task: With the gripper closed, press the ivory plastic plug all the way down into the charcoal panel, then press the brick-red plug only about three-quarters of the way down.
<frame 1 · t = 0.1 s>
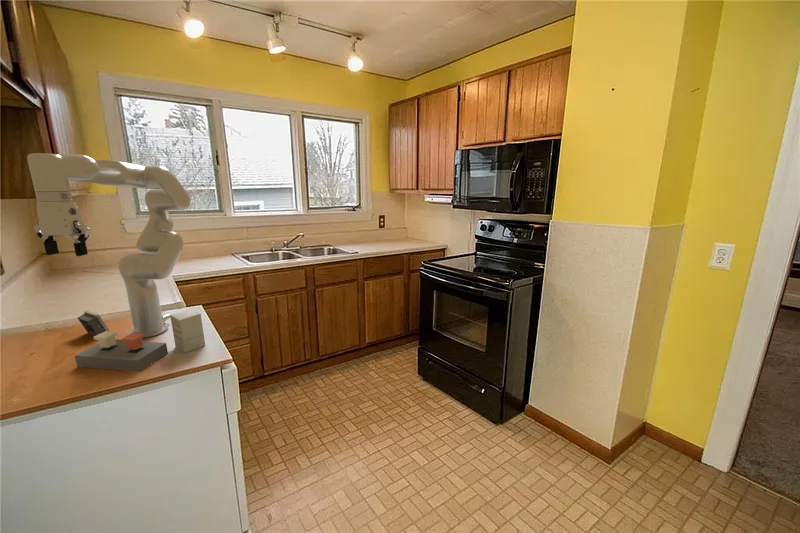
hand: (67, 254, 107), 37 cm above the counter, tool pointing down, fingers open, 9 cm apart
red plug: (134, 341, 116), point 7 cm above the counter, slide at 0.0 cm
ivory plug: (106, 339, 117), point 7 cm above the counter, slide at 0.0 cm
supplement box: (190, 346, 128), on the counter
plug panel: (124, 359, 118), on the counter
electrical switch: (97, 334, 136), on the counter
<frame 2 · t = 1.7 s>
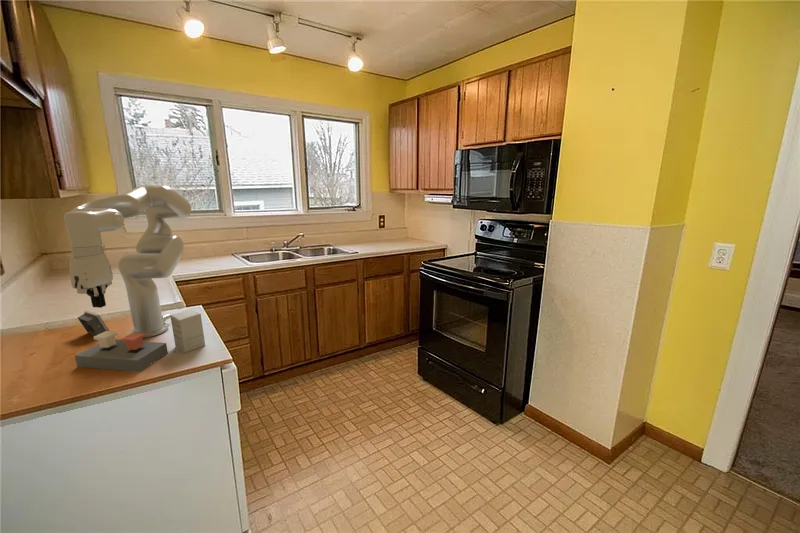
hand: (99, 306, 114), 19 cm above the counter, tool pointing down, fingers closed
nothing on the counter moved.
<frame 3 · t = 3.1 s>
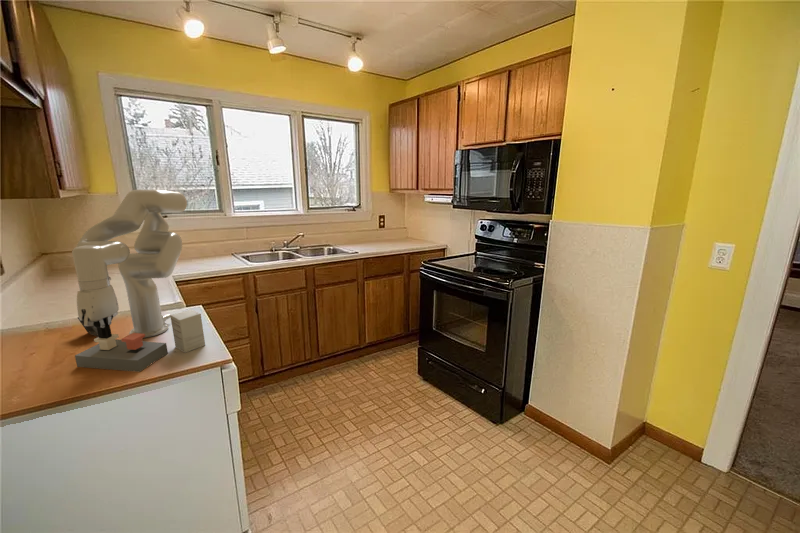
hand: (105, 337, 116), 8 cm above the counter, tool pointing down, fingers closed
ivory plug: (107, 342, 117), point 6 cm above the counter, slide at 0.9 cm, touching gripper
everything else where it was.
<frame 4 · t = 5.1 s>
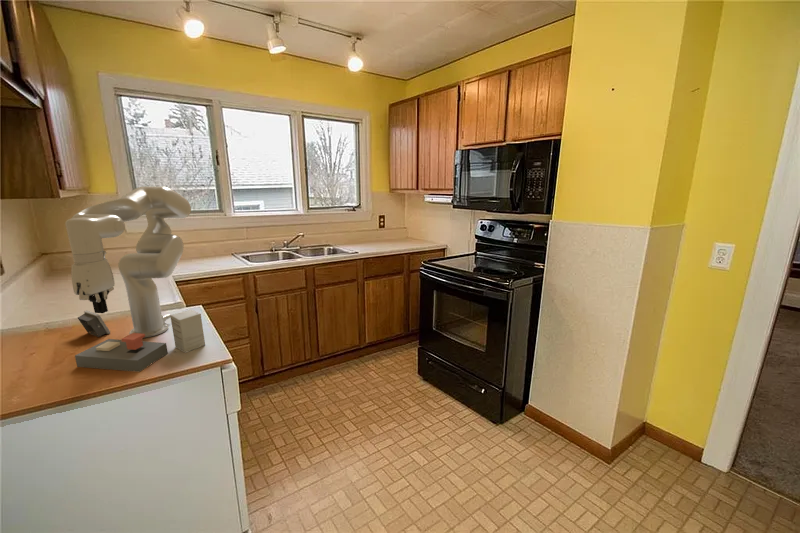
hand: (101, 312, 114), 17 cm above the counter, tool pointing down, fingers closed
ivory plug: (109, 350, 118), point 3 cm above the counter, slide at 3.8 cm
everything else where it was.
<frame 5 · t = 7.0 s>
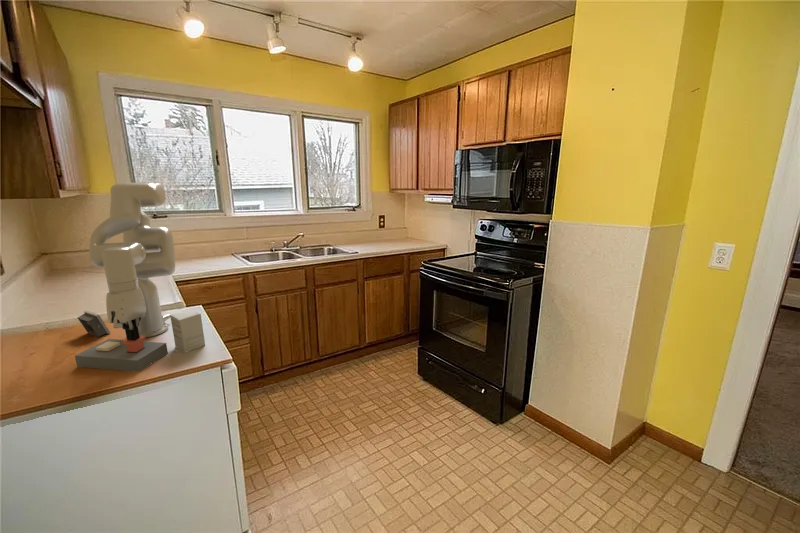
hand: (133, 339, 115), 8 cm above the counter, tool pointing down, fingers closed
red plug: (134, 344, 116), point 6 cm above the counter, slide at 0.9 cm, touching gripper
everything else where it was.
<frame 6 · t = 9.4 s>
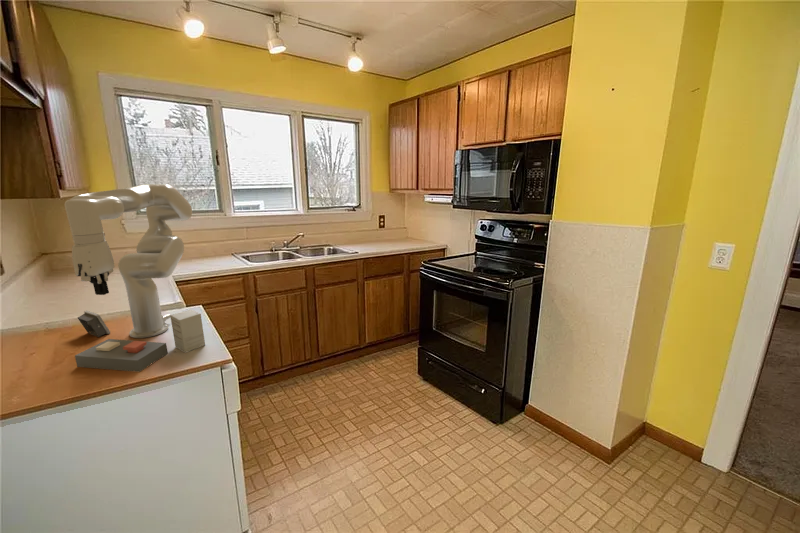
hand: (102, 293, 115), 23 cm above the counter, tool pointing down, fingers closed
red plug: (135, 349, 116), point 4 cm above the counter, slide at 2.9 cm
everything else where it was.
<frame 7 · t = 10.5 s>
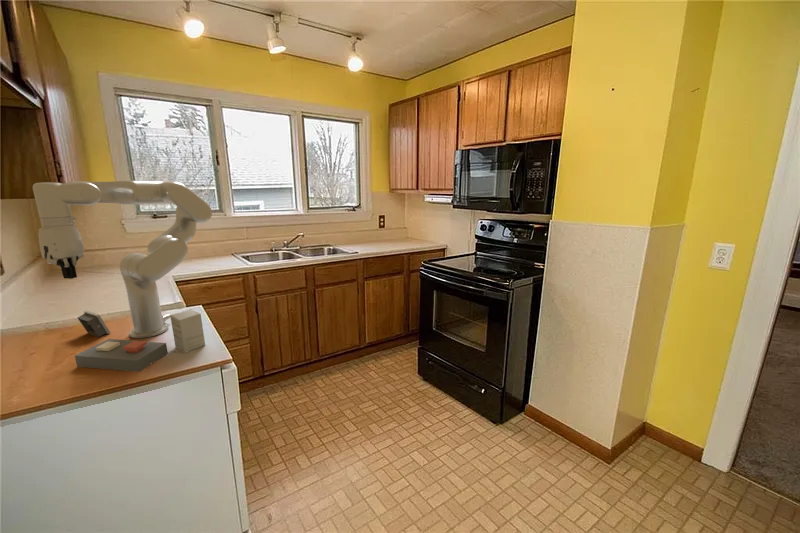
hand: (70, 277, 116), 27 cm above the counter, tool pointing down, fingers closed
nothing on the counter moved.
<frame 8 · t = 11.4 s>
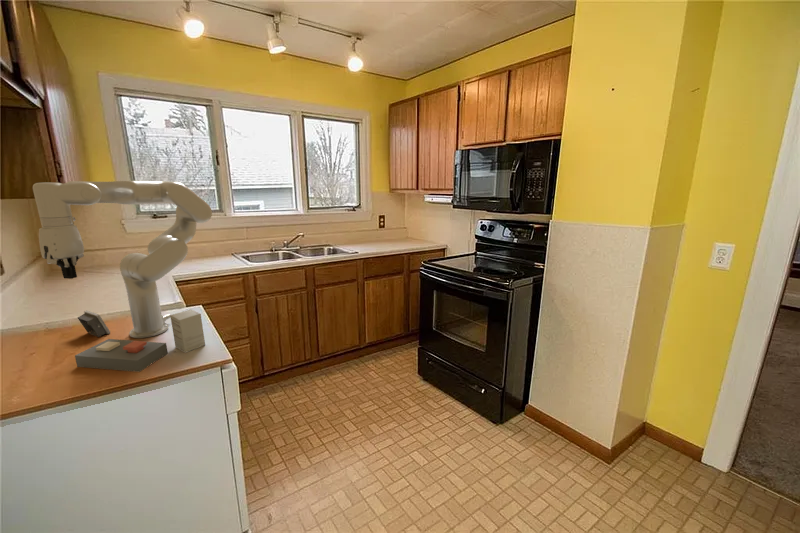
hand: (70, 277, 116), 27 cm above the counter, tool pointing down, fingers closed
nothing on the counter moved.
at the end: ivory plug slide at 3.8 cm; red plug slide at 2.9 cm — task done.
